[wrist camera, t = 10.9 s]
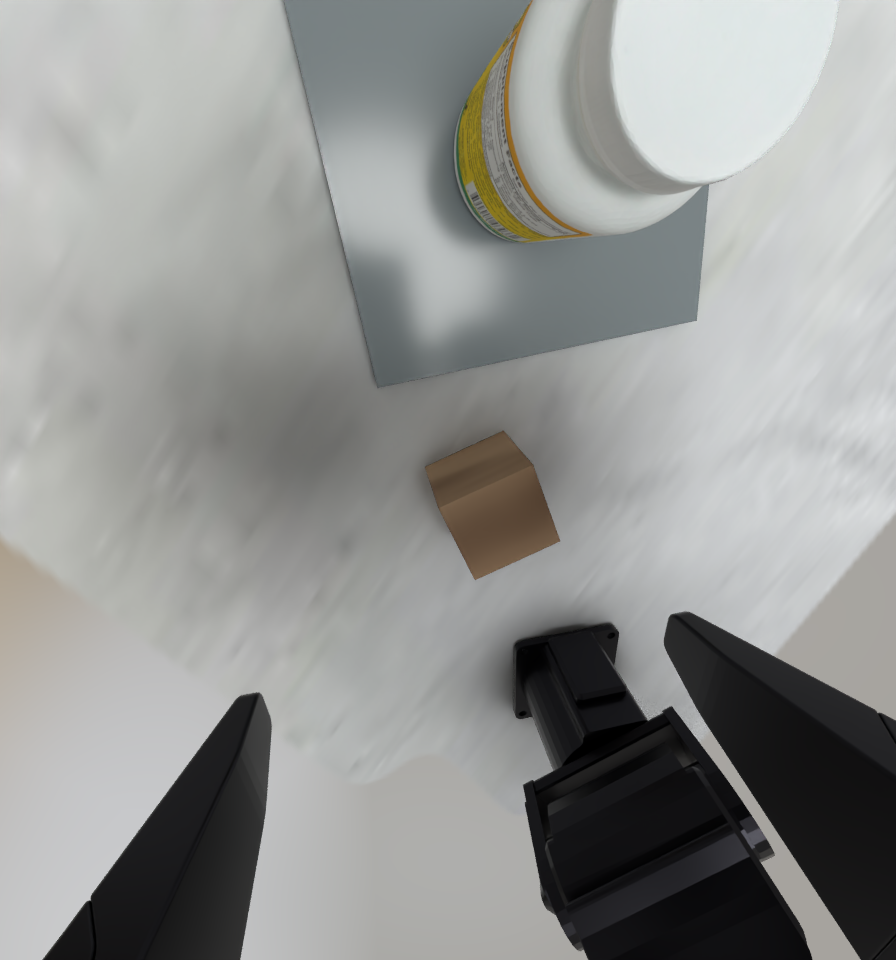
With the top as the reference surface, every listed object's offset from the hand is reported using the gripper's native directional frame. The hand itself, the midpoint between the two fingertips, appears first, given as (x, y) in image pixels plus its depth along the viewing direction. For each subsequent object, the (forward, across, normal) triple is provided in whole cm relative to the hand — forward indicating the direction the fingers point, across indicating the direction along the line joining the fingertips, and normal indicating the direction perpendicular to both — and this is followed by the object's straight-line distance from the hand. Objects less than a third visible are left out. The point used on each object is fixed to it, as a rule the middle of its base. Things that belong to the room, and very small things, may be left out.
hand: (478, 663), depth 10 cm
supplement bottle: (+12, -5, -11) cm, 17 cm away
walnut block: (+12, -3, +2) cm, 13 cm away
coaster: (+12, -5, -11) cm, 17 cm away
